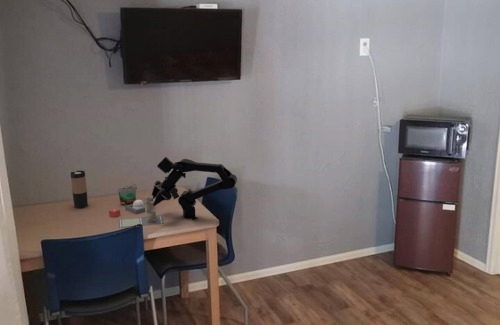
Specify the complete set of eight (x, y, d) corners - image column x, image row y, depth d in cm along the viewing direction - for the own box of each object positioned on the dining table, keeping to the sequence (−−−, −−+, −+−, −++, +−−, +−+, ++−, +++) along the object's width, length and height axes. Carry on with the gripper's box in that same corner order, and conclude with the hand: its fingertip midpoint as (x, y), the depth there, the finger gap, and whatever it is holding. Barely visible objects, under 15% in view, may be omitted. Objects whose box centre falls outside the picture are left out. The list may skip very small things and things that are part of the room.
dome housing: (152, 211, 258) (152, 205, 257) (135, 215, 251) (135, 210, 250) (141, 206, 265) (141, 201, 264) (125, 211, 258) (125, 206, 257)
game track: (161, 217, 248) (161, 215, 248) (164, 225, 237) (163, 223, 237) (118, 221, 243) (118, 219, 242) (118, 230, 232) (118, 227, 231)
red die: (120, 216, 250) (119, 208, 249) (115, 219, 246) (114, 211, 245) (114, 215, 251) (113, 207, 250) (109, 218, 248) (108, 210, 247)
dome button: (147, 210, 258) (146, 199, 256) (137, 213, 253) (136, 202, 252) (140, 207, 262) (139, 197, 260) (130, 210, 258) (129, 199, 256)
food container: (125, 207, 264) (123, 190, 262) (118, 205, 268) (116, 188, 265) (142, 201, 274) (141, 185, 271) (135, 199, 277) (134, 183, 275)
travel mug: (85, 208, 263) (82, 174, 258) (71, 208, 263) (68, 174, 258) (90, 204, 270) (86, 170, 265) (77, 204, 270) (73, 170, 265)
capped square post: (154, 218, 244) (153, 194, 241) (156, 221, 240) (154, 197, 237) (145, 219, 242) (144, 195, 239) (147, 222, 238) (145, 198, 235)
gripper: (187, 193, 236) (167, 217, 235) (180, 183, 253) (161, 205, 252) (171, 180, 231) (150, 205, 231) (164, 171, 248) (145, 193, 248)
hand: (152, 202), depth 240 cm, fingers open, 9 cm apart
